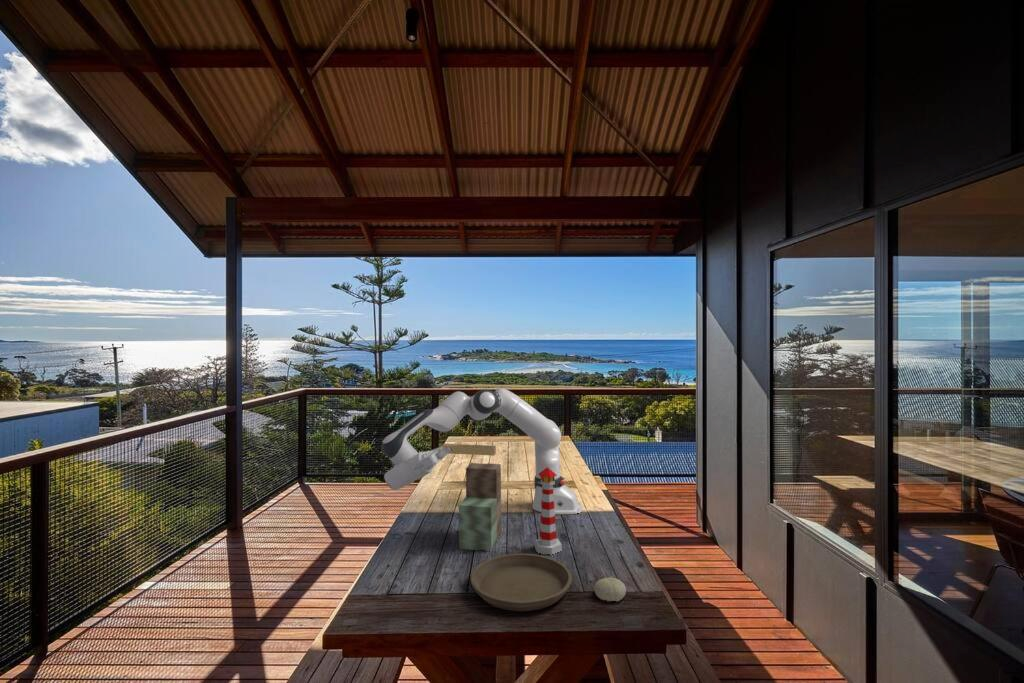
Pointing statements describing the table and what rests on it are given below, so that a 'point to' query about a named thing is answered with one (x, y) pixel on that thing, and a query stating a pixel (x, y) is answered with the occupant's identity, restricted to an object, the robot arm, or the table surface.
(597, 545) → the table surface
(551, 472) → the decorative lighthouse
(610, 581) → the sea urchin shell
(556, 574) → the plant saucer
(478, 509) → the two-tone block tower
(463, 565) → the table surface
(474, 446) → the brass bar
